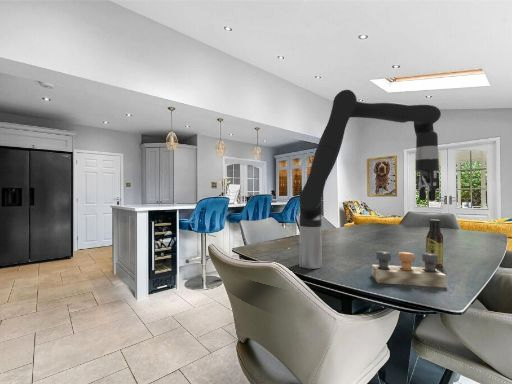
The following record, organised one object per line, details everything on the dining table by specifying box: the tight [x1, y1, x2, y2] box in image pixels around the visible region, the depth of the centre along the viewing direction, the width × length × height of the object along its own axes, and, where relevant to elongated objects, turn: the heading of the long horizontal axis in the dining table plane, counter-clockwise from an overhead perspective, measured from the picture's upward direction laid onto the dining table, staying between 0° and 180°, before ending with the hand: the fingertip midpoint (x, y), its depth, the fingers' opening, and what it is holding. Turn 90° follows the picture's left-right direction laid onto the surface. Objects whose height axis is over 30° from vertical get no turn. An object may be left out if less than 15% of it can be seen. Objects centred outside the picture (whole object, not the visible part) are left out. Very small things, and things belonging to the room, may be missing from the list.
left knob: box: [375, 250, 392, 270], centre depth 93 cm, size 5×5×6 cm
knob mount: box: [371, 264, 447, 289], centre depth 91 cm, size 21×9×4 cm, turn 77°
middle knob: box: [398, 251, 415, 271], centre depth 92 cm, size 5×5×6 cm
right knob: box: [421, 252, 438, 273], centre depth 90 cm, size 5×5×6 cm
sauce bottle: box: [425, 219, 444, 268], centre depth 111 cm, size 6×6×20 cm
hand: (427, 200), depth 100 cm, fingers open, 8 cm apart
